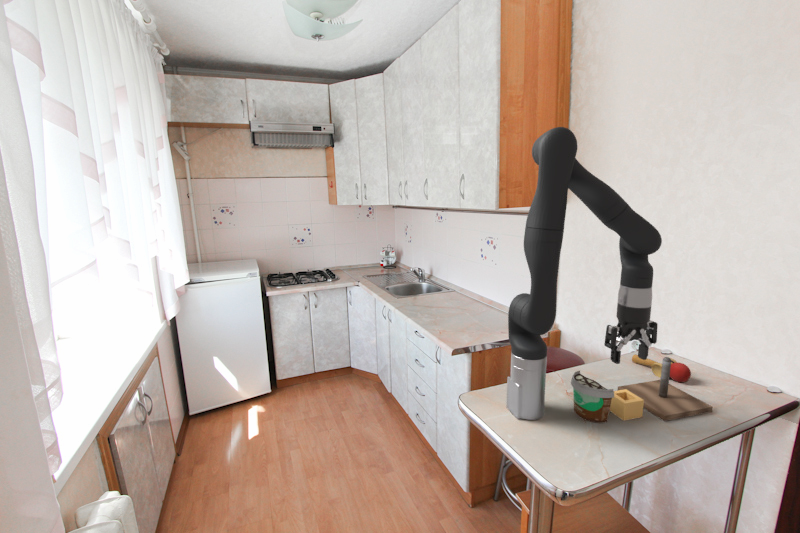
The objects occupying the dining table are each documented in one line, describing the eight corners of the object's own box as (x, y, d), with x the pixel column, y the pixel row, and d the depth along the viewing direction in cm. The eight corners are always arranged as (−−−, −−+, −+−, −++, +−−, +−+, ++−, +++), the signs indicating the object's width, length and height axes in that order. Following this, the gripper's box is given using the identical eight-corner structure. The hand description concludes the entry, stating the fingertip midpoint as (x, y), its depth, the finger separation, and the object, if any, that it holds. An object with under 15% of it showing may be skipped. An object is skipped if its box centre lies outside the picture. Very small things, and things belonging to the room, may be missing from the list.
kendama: (625, 368, 134) (679, 385, 117) (627, 350, 134) (681, 364, 117) (640, 368, 136) (695, 384, 120) (642, 350, 136) (697, 364, 120)
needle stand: (664, 421, 101) (669, 373, 98) (617, 391, 116) (621, 349, 114) (712, 411, 104) (718, 365, 102) (660, 383, 120) (665, 343, 117)
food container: (559, 405, 109) (561, 373, 107) (576, 401, 111) (578, 369, 109) (593, 430, 98) (596, 394, 96) (611, 425, 100) (615, 389, 98)
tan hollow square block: (623, 420, 102) (625, 403, 101) (606, 408, 107) (607, 392, 106) (642, 417, 103) (644, 400, 102) (624, 405, 109) (626, 389, 108)
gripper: (622, 309, 94) (617, 370, 97) (669, 303, 97) (663, 363, 100) (600, 301, 101) (596, 358, 104) (644, 296, 104) (639, 351, 107)
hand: (629, 360), depth 102 cm, fingers open, 8 cm apart
